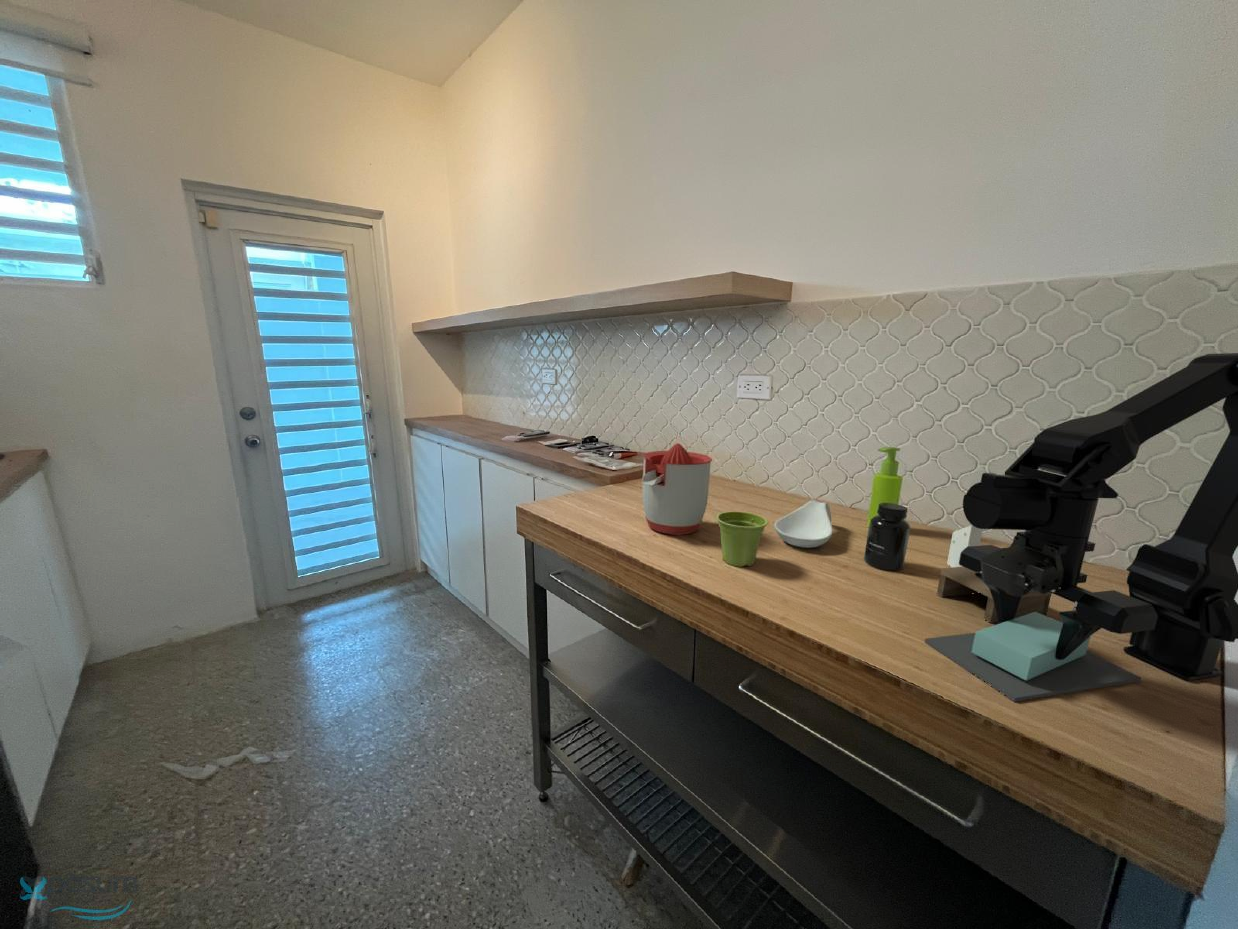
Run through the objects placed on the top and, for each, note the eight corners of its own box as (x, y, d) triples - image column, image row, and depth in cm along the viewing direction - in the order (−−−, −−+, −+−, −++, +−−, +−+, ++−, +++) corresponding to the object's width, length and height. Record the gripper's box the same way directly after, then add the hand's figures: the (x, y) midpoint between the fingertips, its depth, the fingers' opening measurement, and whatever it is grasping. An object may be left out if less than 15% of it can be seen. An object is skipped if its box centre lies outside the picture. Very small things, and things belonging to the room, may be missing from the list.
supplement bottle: (863, 566, 89) (872, 507, 86) (863, 555, 95) (871, 499, 92) (904, 575, 86) (915, 513, 83) (902, 562, 92) (911, 504, 89)
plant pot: (757, 575, 84) (761, 530, 82) (707, 563, 88) (710, 520, 86) (767, 558, 92) (772, 516, 90) (721, 548, 96) (724, 508, 94)
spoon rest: (823, 559, 93) (827, 525, 91) (765, 545, 99) (768, 513, 98) (845, 528, 112) (849, 500, 110) (795, 518, 118) (798, 491, 117)
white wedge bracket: (977, 573, 81) (971, 525, 84) (948, 578, 91) (944, 535, 93) (1000, 576, 81) (994, 527, 83) (969, 581, 90) (964, 536, 93)
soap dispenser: (858, 526, 113) (869, 445, 109) (877, 523, 116) (889, 444, 112) (880, 534, 108) (893, 450, 104) (899, 530, 111) (913, 448, 107)
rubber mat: (1140, 681, 57) (1141, 677, 57) (1013, 702, 53) (1014, 698, 53) (1035, 628, 68) (1036, 625, 68) (924, 642, 64) (924, 638, 64)
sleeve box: (1045, 616, 72) (1052, 588, 71) (990, 623, 70) (996, 594, 69) (988, 589, 81) (993, 564, 80) (936, 594, 78) (941, 568, 77)
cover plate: (1085, 654, 60) (1091, 634, 60) (1026, 680, 55) (1031, 658, 54) (1030, 630, 66) (1035, 611, 65) (971, 652, 60) (975, 631, 60)
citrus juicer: (620, 526, 107) (623, 441, 103) (670, 513, 119) (674, 436, 115) (671, 546, 96) (676, 452, 92) (720, 529, 107) (727, 445, 103)
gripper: (937, 510, 64) (918, 612, 67) (1100, 565, 46) (1065, 701, 49) (1000, 507, 67) (979, 606, 70) (1178, 558, 49) (1140, 688, 52)
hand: (1030, 643), depth 60 cm, fingers closed on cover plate, 6 cm apart
